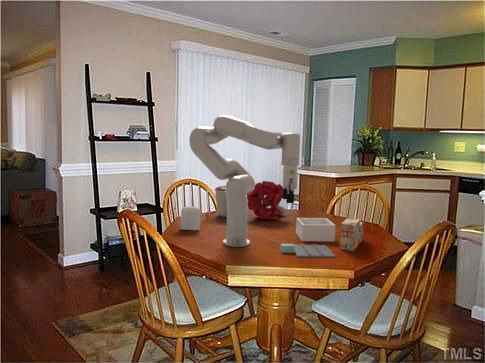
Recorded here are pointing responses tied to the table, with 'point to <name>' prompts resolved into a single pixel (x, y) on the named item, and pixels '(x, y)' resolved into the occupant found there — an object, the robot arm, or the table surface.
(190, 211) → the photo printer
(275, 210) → the bouquet
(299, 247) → the lid
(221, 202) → the canister
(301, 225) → the tub
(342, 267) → the table surface
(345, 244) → the printed milk carton
